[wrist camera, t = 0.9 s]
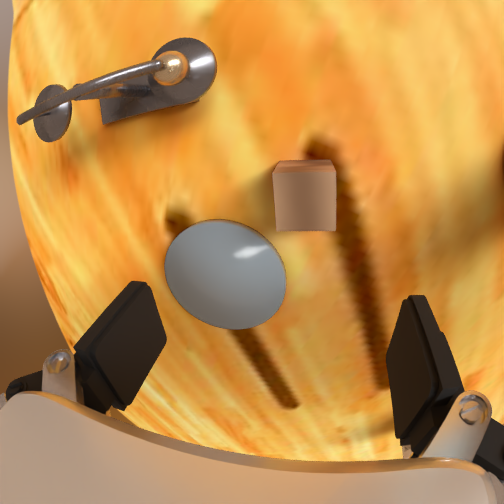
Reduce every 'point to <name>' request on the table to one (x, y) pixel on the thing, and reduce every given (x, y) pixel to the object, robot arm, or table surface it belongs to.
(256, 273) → the dish
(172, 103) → the balance
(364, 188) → the table surface
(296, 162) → the walnut block
